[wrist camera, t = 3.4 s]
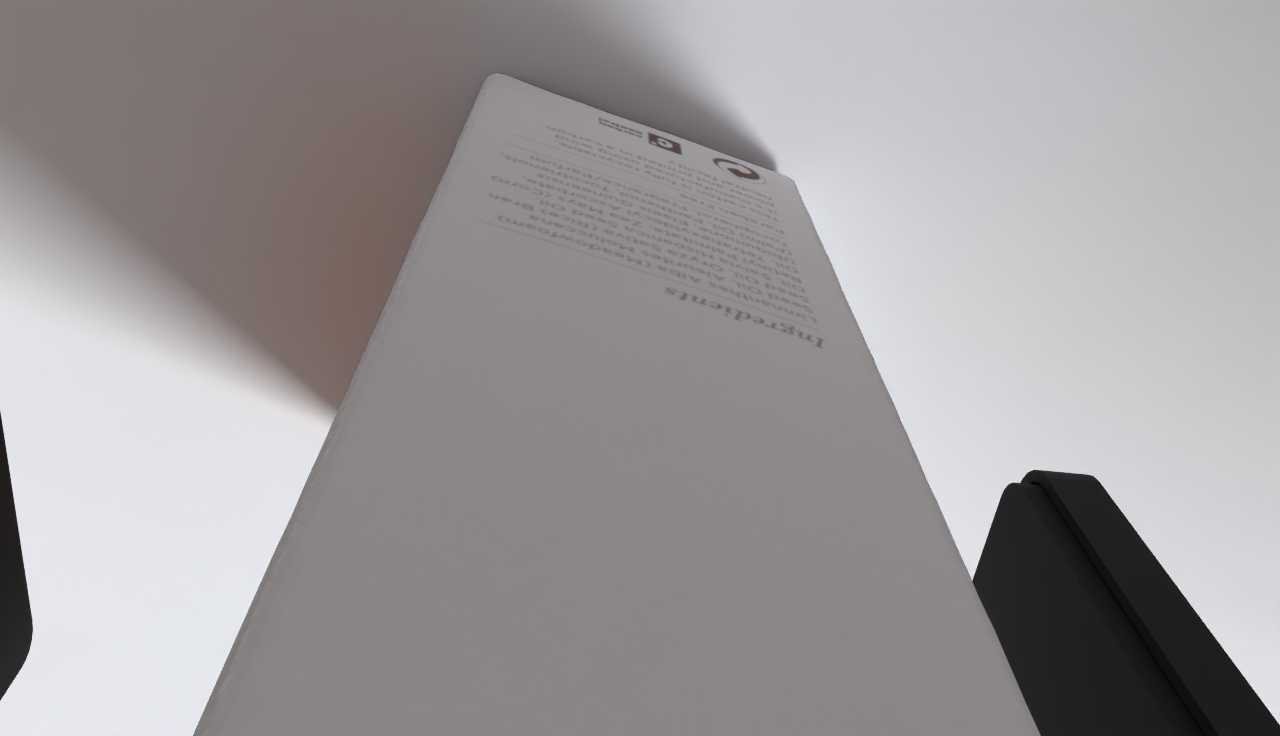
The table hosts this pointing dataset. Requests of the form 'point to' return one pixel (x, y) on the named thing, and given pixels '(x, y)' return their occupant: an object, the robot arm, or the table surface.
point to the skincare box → (614, 476)
